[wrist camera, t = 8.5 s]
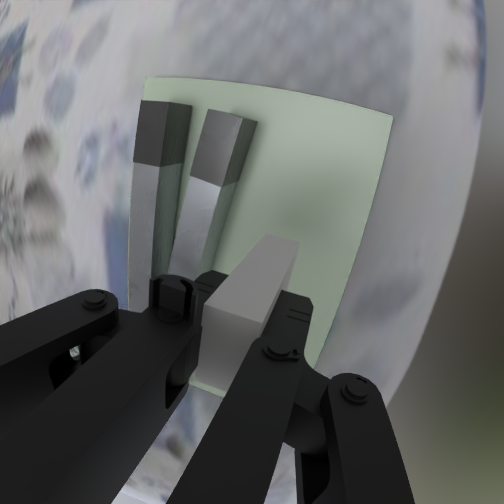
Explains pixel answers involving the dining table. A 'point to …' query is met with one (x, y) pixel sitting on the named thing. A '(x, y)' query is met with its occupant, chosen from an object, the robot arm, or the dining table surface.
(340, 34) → the dining table surface
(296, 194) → the board
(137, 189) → the tongs fixed
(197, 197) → the bar
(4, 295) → the dining table surface
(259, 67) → the dining table surface
